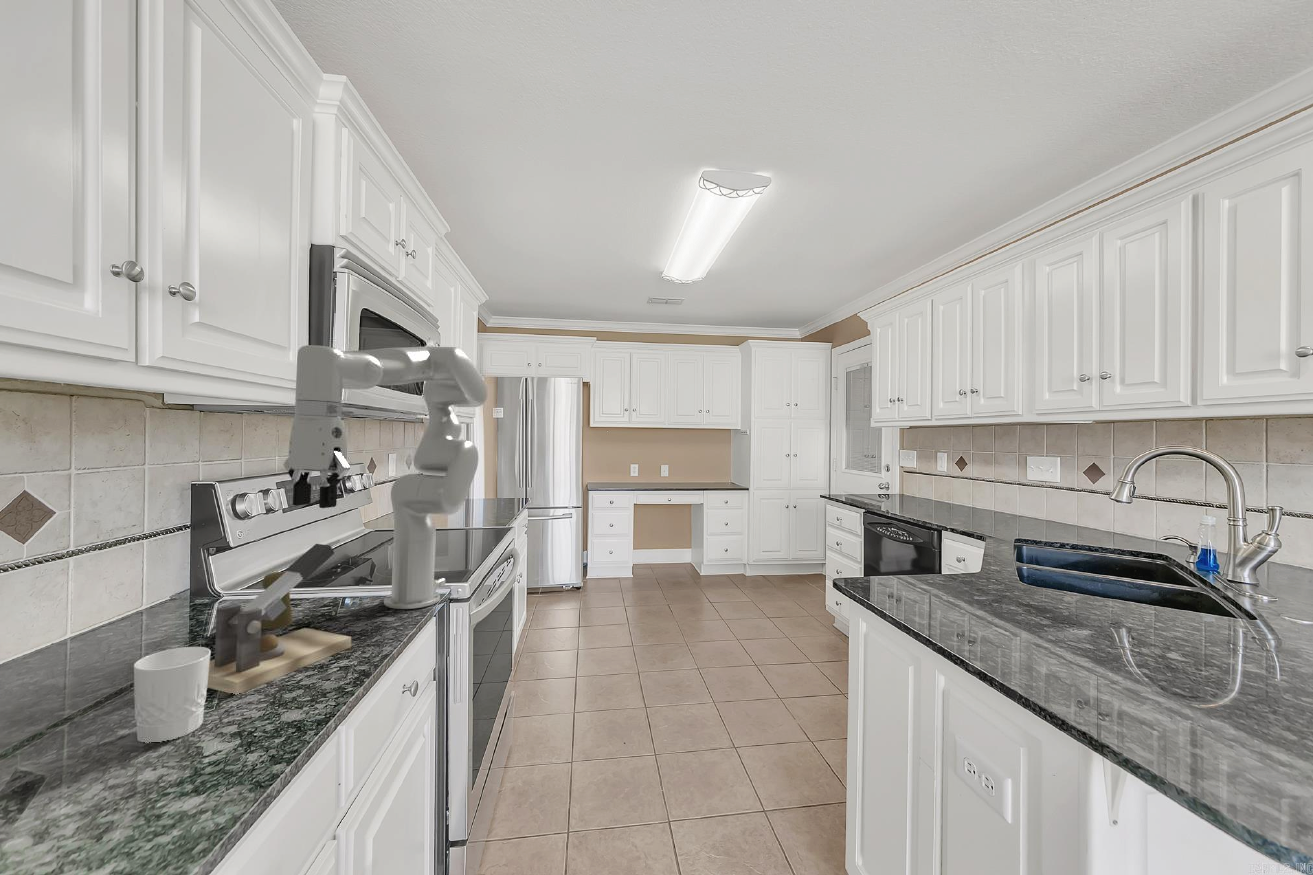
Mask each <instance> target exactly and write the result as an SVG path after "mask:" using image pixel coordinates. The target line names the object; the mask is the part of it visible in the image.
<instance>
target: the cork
mask: <svg viewBox="0 0 1313 875" xmlns="http://www.w3.org/2000/svg"><path fill="white" fill-rule="evenodd" d="M285 572H286V571H276V572H271V573H268V574H266V575H264V577H263V579H262V588H263V589H264V590H266V589H267V588H268V587H269V586H270V585H271V584H273V583H274V582H275V581H276V580H277V579H278V578H280V577H281V576H282V575H283V574H284V573H285ZM281 600H282V602H283V603H284V605H285V606H286V607H287V608H286V609H285V610H284V611H283V612H281V613H280V614H279V615H278V616H277V617H276V618H275V619H274V620H273V621H270V620H265V619H262V620H261V630H265V629H269V630H276V629H277V628H278V629H281V628H280V627H283V628H286V627H289V626H291V625H292V624H293V622H294V621H293V613H292V605H291V594H290V591H289V592H288V593H287V594H286V595H284V596H283V597H282V598H281ZM291 623H292V624H291ZM290 624H291V625H290ZM288 625H289V626H288ZM285 626H286V627H285ZM278 629H277V630H278Z"/></svg>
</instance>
